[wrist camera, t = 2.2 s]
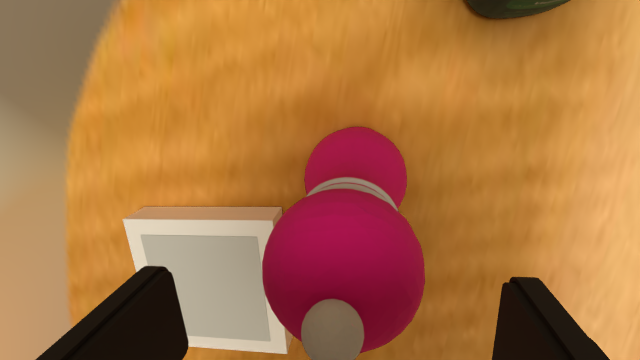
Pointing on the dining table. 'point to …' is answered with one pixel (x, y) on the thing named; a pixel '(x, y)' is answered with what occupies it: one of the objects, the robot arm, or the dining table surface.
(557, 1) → the coffee jar
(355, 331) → the pepper mill
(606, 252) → the dining table surface
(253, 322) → the stand
